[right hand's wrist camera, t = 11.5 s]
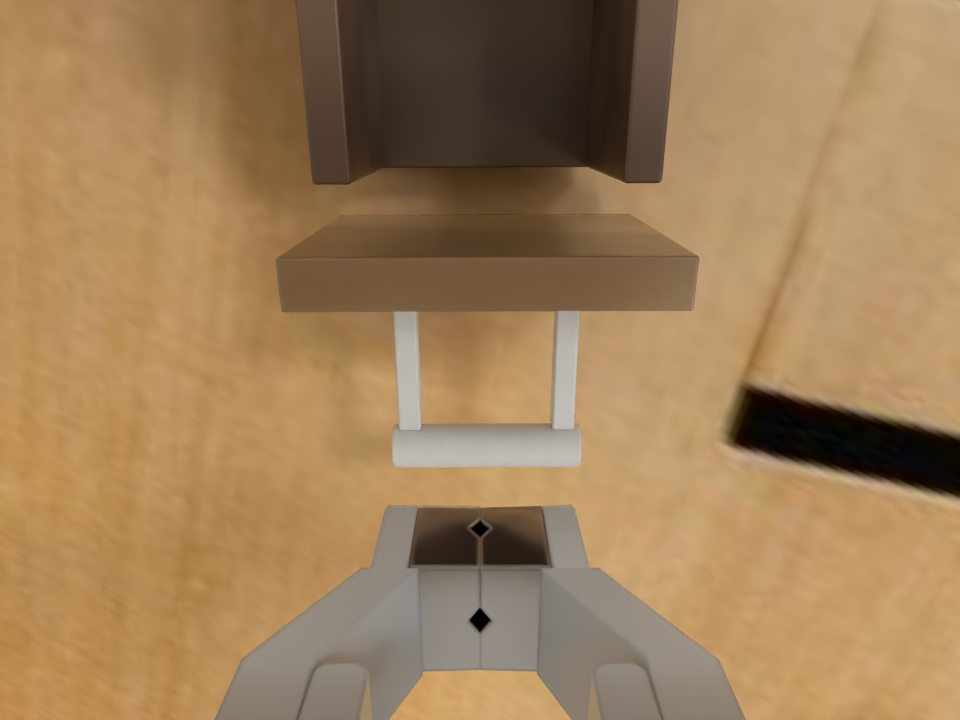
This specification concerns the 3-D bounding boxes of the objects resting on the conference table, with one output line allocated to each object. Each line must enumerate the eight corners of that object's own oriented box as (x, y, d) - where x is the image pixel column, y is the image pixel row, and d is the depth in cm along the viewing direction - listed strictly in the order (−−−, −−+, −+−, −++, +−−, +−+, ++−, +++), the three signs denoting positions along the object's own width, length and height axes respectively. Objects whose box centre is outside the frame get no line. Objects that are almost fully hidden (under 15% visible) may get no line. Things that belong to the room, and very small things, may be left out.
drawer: (616, 408, 22) (669, 521, 16) (355, 408, 22) (305, 522, 16) (686, -524, 14) (848, -1036, 8) (282, -522, 14) (125, -1029, 8)
